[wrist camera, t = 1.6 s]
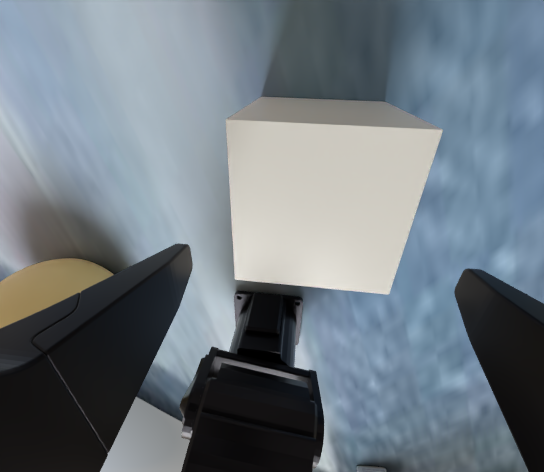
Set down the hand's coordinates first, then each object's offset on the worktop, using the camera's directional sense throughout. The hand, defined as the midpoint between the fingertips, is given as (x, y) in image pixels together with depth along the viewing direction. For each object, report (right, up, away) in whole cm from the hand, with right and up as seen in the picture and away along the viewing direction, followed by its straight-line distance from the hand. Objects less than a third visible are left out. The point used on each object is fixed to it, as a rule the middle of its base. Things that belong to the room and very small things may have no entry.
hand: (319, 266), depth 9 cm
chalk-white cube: (+1, +6, +10) cm, 12 cm away
